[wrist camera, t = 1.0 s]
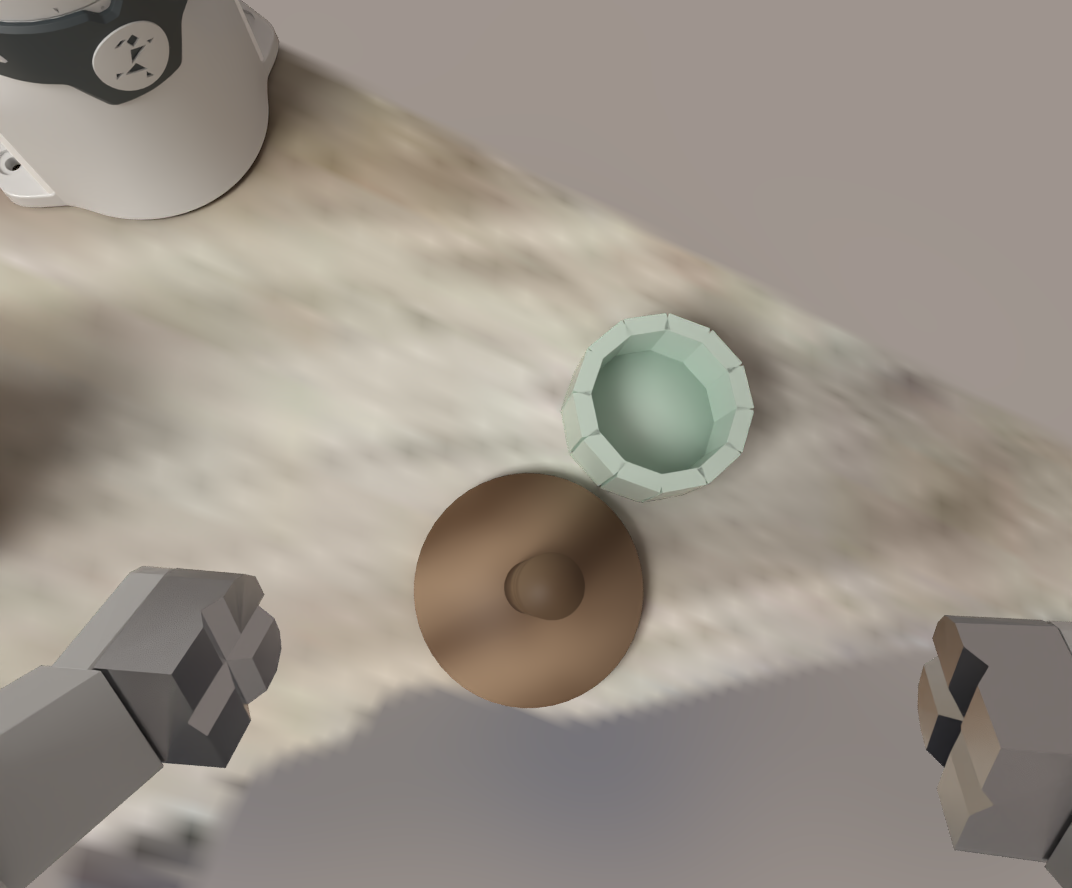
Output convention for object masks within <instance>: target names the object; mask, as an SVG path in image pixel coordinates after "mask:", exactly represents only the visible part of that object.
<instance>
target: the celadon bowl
mask: <svg viewBox="0 0 1072 888" xmlns="http://www.w3.org/2000/svg"><path fill="white" fill-rule="evenodd" d="M709 331H710V328H708V327H705V326H702V325H700V324H697V323H694V322H692V321H689V320H686V319H684V318H681V317H678V316H676V315H673V314H670V313H669V314H668V315H667V314H666V313H662V314H655V315H649V316H642V317H635V318H628V319H624V320H623V321H622V320H621V321H620V322H619V323H618V324H616V325H615V326H614V327H613V328H611V329H610V330H609V331H608V332H607V333H605V334H604V335H603V336H602V337H600V338H599V339H598V340H597V341H596V342H594V343H593V344H592V345H591V346H589V348H588V349H587V351H586V352H585V354H584V356H583V358H582V359H581V361H580V363H579V365H578V366H577V368H576V370H575V372H574V374H573V377H572V380H571V383H570V385H569V388H568V391H567V394H566V397H565V400H564V403H563V406H562V409H561V410H562V411H561V415H562V420H563V425H564V430H565V435H566V439H567V444H568V449H569V452H573V453H572V454H571V456H572V457H573V459H574V460H575V461H576V462H577V463H578V464H579V465H580V467H581V468H582V469H583V470H584V471H585V472H586V473H587V475H588V476H589V477H590V478H591V479H592V480H593V482H594V483H595V484H596V485H597V486H599V485H601V487H600V488H601V489H604V490H607V491H609V492H612V493H615V494H618V495H621V496H623V497H626V498H629V499H632V500H634V501H637V502H641V501H642V502H648V501H653V500H658V499H664V498H669V497H674V496H680V495H683V494H686V493H688V492H690V491H693V490H695V489H698V488H700V487H702V486H705V485H707V484H709V483H710V482H711V481H712V480H714V479H715V478H716V477H717V476H718V475H719V474H720V473H721V472H722V471H723V470H725V469H726V468H727V467H728V466H729V465H730V464H731V463H732V462H733V461H734V460H736V459H737V458H738V457H739V456H740V455H741V454H740V453H742V452H743V448H744V445H745V441H746V438H747V434H748V431H749V427H750V424H751V420H752V417H753V413H754V411H753V410H752V409H753V408H754V405H753V401H752V397H751V393H750V389H749V385H748V381H747V377H746V373H745V369H744V366H739V365H740V364H742V362H741V361H740V360H739V359H738V358H737V356H736V355H735V354H734V353H733V352H732V351H731V350H730V349H729V348H728V346H727V345H726V344H725V343H724V342H723V341H722V340H721V339H720V338H719V337H718V335H717V334H716V333H715V332H714V331H713V330H712V331H711V332H710V333H709Z"/></svg>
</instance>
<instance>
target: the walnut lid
mask: <svg viewBox="0 0 1072 888" xmlns="http://www.w3.org/2000/svg"><path fill="white" fill-rule="evenodd" d="M414 599H415V610H416V614H417V619H418V623H419V627H420V629H421V632H422V635H423V637H424V640H425V642H426V644H427V646H428V647H429V649H430V651H431V653H432V655H433V656H434V657H435V659H436V660H437V662H438V663H439V664H440V666H441V667H442V668H443V669H444V670H445V671H446V672H447V673H448V674H449V675H450V677H451V678H452V679H454V680H455V681H456V682H457V683H459V684H460V685H461V686H462V687H464V688H465V689H467V690H469V691H470V692H472V693H474V694H475V695H477V696H479V697H481V698H484V699H486V700H488V701H491V702H494V703H498V704H501V705H505V706H511V707H519V708H539V707H546V706H553V705H556V704H560V703H563V702H566V701H569V700H571V699H573V698H576V697H578V696H580V695H582V694H584V693H585V692H587V691H589V690H590V689H592V688H593V687H595V686H596V685H597V684H599V683H600V682H601V681H602V680H603V679H605V678H606V677H607V676H608V675H609V674H610V673H611V671H612V670H613V669H614V668H615V667H616V666H617V665H618V663H619V662H620V661H621V659H622V658H623V656H624V655H625V654H626V652H627V650H628V648H629V646H630V644H631V642H632V640H633V638H634V635H635V633H636V630H637V627H638V624H639V620H640V616H641V612H642V603H643V577H642V570H641V564H640V561H639V557H638V554H637V550H636V548H635V546H634V543H633V541H632V539H631V536H630V535H629V533H628V531H627V530H626V528H625V526H624V524H623V523H622V522H621V520H620V519H619V518H618V516H617V515H616V514H615V513H614V512H613V511H612V510H611V509H610V507H609V506H608V505H607V504H606V503H605V502H603V501H602V500H601V499H600V498H598V497H597V496H596V495H595V494H593V493H592V492H590V491H588V490H587V489H585V488H583V487H582V486H580V485H578V484H575V483H573V482H571V481H568V480H566V479H562V478H559V477H555V476H551V475H544V474H534V473H522V474H513V475H507V476H503V477H499V478H495V479H492V480H490V481H487V482H484V483H482V484H480V485H478V486H476V487H474V488H473V489H471V490H469V491H467V492H466V493H465V494H463V495H462V496H461V497H459V498H458V499H456V500H455V501H454V502H453V503H452V504H451V505H450V506H449V507H448V508H447V509H446V510H445V511H444V512H443V514H442V515H441V516H440V517H439V518H438V520H437V521H436V522H435V524H434V526H433V527H432V529H431V530H430V532H429V534H428V536H427V538H426V540H425V542H424V544H423V547H422V549H421V552H420V556H419V559H418V562H417V567H416V573H415V580H414Z"/></svg>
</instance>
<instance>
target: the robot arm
mask: <svg viewBox="0 0 1072 888" xmlns="http://www.w3.org/2000/svg"><path fill="white" fill-rule="evenodd" d="M278 49H279V40H278V37H277V35H276V33H275V31H274V29H273V27H272V25H271V24H270V23H269V22H268V21H267V20H266V19H264V18H263V17H262V16H261V15H259V14H258V13H257V12H256V11H254V10H253V9H252V8H250V7H249V6H247V4H245V3H244V2H243V1H241V0H0V188H1V189H2V191H3V192H4V193H5V194H6V195H7V197H8V198H9V199H10V200H11V201H12V202H14V203H15V204H17V205H20V206H25V207H52V206H65V205H68V206H75V207H79V208H83V209H87V210H90V211H93V212H96V213H100V214H103V215H107V216H111V217H117V218H124V219H139V220H144V219H158V218H165V217H171V216H175V215H179V214H183V213H186V212H189V211H192V210H194V209H197V208H199V207H201V206H203V205H206V204H207V203H209V202H211V201H213V200H215V199H216V198H218V197H219V196H221V195H222V194H224V193H225V192H226V191H228V190H229V189H230V188H231V187H232V186H234V185H235V184H236V183H237V182H238V181H239V180H240V179H241V178H242V177H243V175H244V174H245V173H246V172H247V171H248V169H249V168H250V167H251V165H252V164H253V162H254V161H255V159H256V157H257V155H258V153H259V151H260V149H261V147H262V144H263V141H264V138H265V135H266V131H267V125H268V116H269V107H268V94H267V81H268V76H269V73H270V71H271V69H272V66H273V64H274V62H275V59H276V56H277V53H278ZM18 164H21V166H20V167H19V169H17V170H15V171H12V169H13V167H14V166H15V165H18ZM263 596H264V593H263V591H262V589H261V587H260V585H259V583H258V581H257V579H256V577H255V576H251V575H246V574H237V573H226V572H214V571H203V570H192V569H180V568H176V569H175V568H162V567H150V566H142V567H140V568H138V569H136V570H134V571H132V572H130V573H129V574H128V575H127V576H126V578H125V579H124V580H123V581H122V582H121V584H120V585H119V586H118V587H117V588H116V590H115V591H114V592H113V593H112V594H111V596H110V597H109V598H108V599H107V600H106V602H105V603H104V604H103V605H102V606H101V608H100V609H99V610H98V611H97V612H96V614H95V615H94V616H93V617H92V618H91V620H90V621H89V622H88V623H87V624H86V626H85V627H84V628H83V629H82V630H81V632H80V633H79V634H78V635H77V636H76V638H75V639H74V640H73V641H72V642H71V644H70V645H69V646H68V647H67V648H66V650H65V651H64V652H63V653H62V654H61V656H60V657H59V658H58V659H57V660H56V662H55V663H54V664H53V665H52V666H43V665H41V666H39V667H37V668H36V669H34V670H32V671H31V672H29V673H27V674H25V675H24V676H22V677H20V678H19V679H17V680H15V681H13V682H12V683H10V684H8V685H7V686H5V687H3V688H1V689H0V888H25V887H27V886H28V885H29V884H30V883H31V882H32V881H33V880H35V878H37V877H38V876H39V875H40V874H41V873H43V872H44V871H45V870H46V869H47V868H48V867H50V866H51V865H52V864H53V863H54V862H55V861H56V860H58V859H59V858H60V857H61V856H62V855H63V854H64V853H66V852H67V851H68V850H69V849H70V848H71V847H72V846H74V845H75V844H76V843H77V842H78V841H79V840H80V839H82V838H83V837H84V836H85V835H86V834H87V833H88V832H90V831H91V830H92V829H93V828H94V827H95V826H96V825H98V824H99V823H100V822H101V821H102V820H103V819H104V818H106V817H107V816H108V815H109V814H110V813H111V812H112V811H114V810H115V809H116V808H117V807H118V806H119V805H120V804H122V803H123V802H124V801H125V800H126V799H127V798H128V797H130V796H131V795H132V794H133V793H134V792H135V791H137V790H138V789H139V788H140V787H141V786H142V785H143V784H145V783H146V782H147V781H148V780H149V779H150V778H151V777H153V776H154V775H155V774H156V773H157V772H158V771H159V770H161V769H162V768H163V766H164V765H163V764H162V763H170V764H183V765H195V766H207V767H219V768H226V766H227V764H228V762H229V761H230V759H231V757H232V755H233V753H234V751H235V749H236V747H237V746H238V744H239V742H240V740H241V738H242V736H243V734H244V733H245V731H246V729H247V727H248V725H249V723H250V721H251V718H250V713H249V707H248V704H249V703H250V702H252V701H253V700H254V699H256V698H257V697H258V696H260V695H261V694H262V693H264V692H265V691H266V690H267V689H268V687H269V685H270V683H271V681H272V679H273V677H274V675H275V673H276V671H277V667H278V662H279V657H280V653H281V639H280V631H279V628H278V626H277V624H276V621H275V619H274V618H273V617H272V616H271V615H270V614H268V613H267V612H266V611H265V610H263V609H262V608H261V607H260V606H259V604H260V602H261V600H262V598H263ZM932 639H933V642H934V645H935V648H936V651H937V654H938V656H937V657H935V658H934V659H932V660H931V661H929V662H928V663H926V664H924V666H923V670H922V674H921V677H920V681H919V685H918V714H919V721H920V728H921V732H922V736H923V740H924V743H925V748H926V750H927V751H928V752H929V753H930V754H931V755H932V756H933V757H934V758H935V759H936V760H937V761H938V762H939V763H940V764H941V765H942V766H943V767H944V771H943V773H942V776H941V779H940V781H939V784H938V786H937V791H938V795H939V798H940V802H941V805H942V809H943V812H944V816H945V820H946V823H947V827H948V830H949V834H950V837H951V840H952V844H953V848H954V850H958V851H965V852H973V853H980V854H987V855H994V856H1002V857H1009V858H1017V859H1023V860H1031V861H1038V862H1046V865H1045V868H1046V869H1047V870H1048V871H1049V873H1050V874H1051V875H1052V876H1053V877H1054V878H1055V880H1056V881H1057V882H1058V883H1059V884H1060V885H1061V886H1062V888H1072V622H1062V621H1047V622H1045V621H1043V620H1031V619H1011V618H991V617H971V616H951V615H945V616H944V617H943V618H942V619H941V620H940V621H939V622H938V624H937V626H936V629H935V632H934V635H933V638H932Z"/></svg>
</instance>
